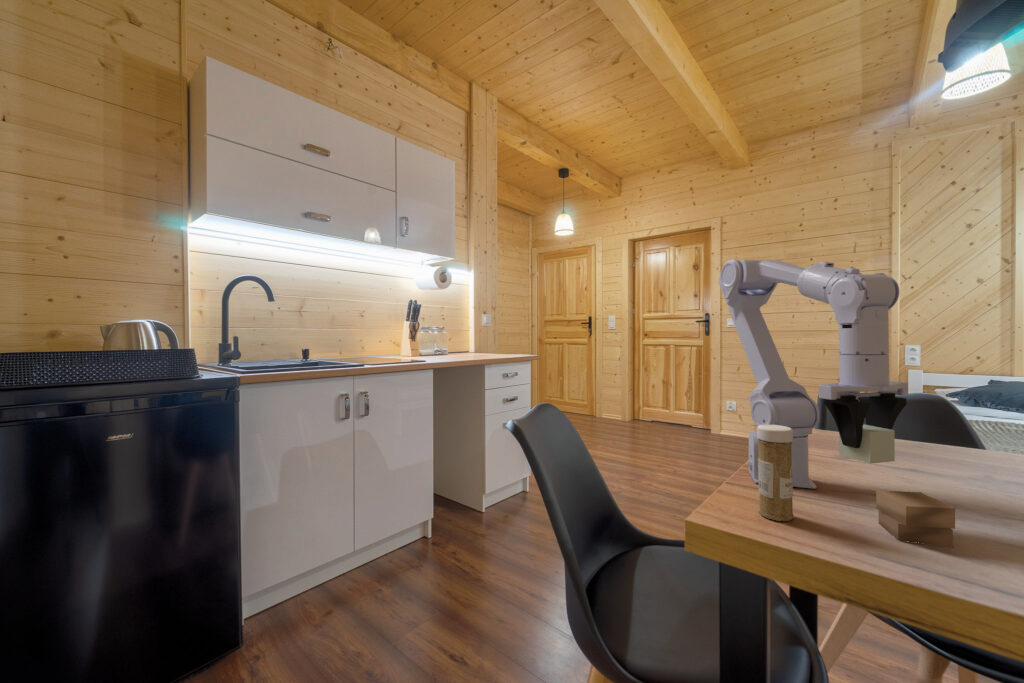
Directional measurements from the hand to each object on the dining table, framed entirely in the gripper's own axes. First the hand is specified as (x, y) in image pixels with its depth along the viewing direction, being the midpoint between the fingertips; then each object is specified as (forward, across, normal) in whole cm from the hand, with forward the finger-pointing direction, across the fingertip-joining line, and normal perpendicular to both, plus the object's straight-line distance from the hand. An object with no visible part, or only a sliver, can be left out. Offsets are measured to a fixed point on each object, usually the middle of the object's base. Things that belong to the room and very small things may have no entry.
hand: (864, 445), depth 63 cm
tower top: (+8, 0, -6) cm, 10 cm away
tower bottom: (+11, 0, -6) cm, 13 cm away
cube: (+2, 0, 0) cm, 2 cm away
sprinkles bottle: (+11, -13, +3) cm, 17 cm away
